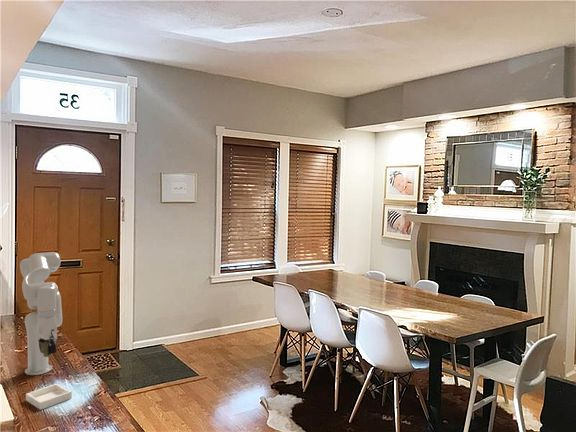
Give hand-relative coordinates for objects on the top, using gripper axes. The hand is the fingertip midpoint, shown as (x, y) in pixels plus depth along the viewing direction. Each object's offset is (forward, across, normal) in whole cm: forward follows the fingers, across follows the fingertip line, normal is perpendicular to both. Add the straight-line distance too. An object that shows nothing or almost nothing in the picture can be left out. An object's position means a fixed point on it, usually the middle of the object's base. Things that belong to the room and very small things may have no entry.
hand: (47, 351), depth 210 cm
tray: (+23, 0, 0) cm, 23 cm away
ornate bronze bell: (+3, 0, 0) cm, 3 cm away
